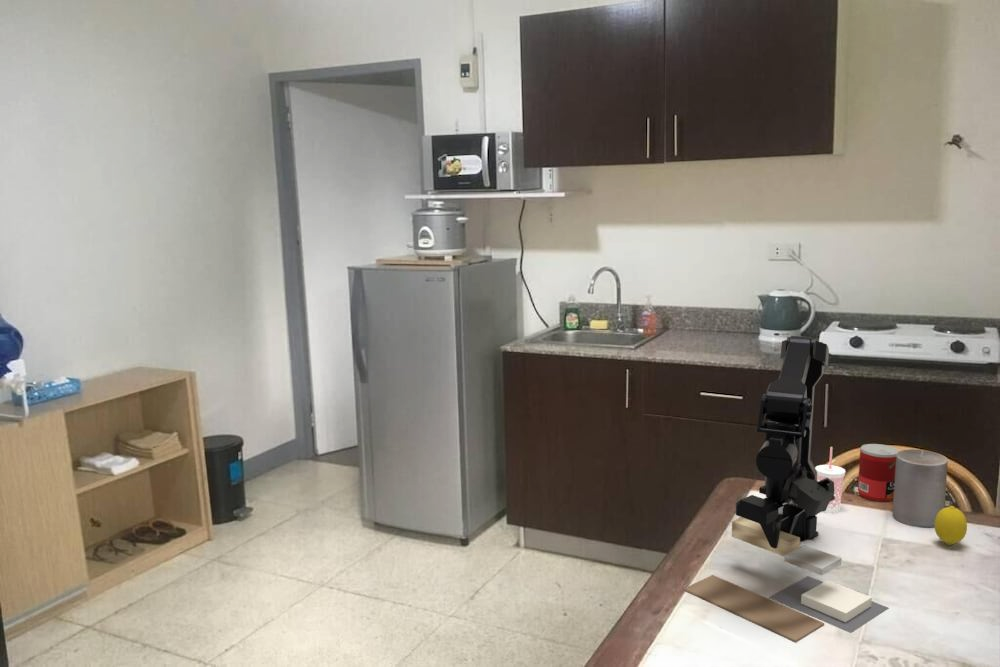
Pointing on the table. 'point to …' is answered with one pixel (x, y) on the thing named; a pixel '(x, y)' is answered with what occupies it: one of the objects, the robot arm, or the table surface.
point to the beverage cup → (837, 477)
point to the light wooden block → (786, 547)
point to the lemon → (950, 525)
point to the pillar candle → (919, 487)
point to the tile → (836, 601)
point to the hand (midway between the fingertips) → (779, 544)
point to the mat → (793, 599)
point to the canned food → (877, 472)
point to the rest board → (755, 608)
